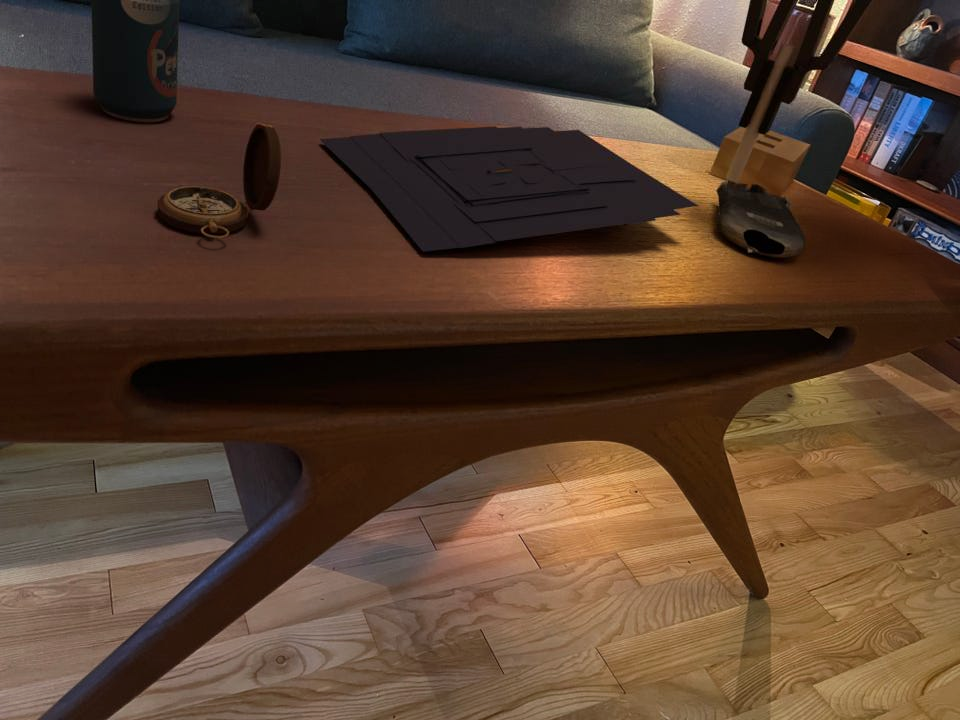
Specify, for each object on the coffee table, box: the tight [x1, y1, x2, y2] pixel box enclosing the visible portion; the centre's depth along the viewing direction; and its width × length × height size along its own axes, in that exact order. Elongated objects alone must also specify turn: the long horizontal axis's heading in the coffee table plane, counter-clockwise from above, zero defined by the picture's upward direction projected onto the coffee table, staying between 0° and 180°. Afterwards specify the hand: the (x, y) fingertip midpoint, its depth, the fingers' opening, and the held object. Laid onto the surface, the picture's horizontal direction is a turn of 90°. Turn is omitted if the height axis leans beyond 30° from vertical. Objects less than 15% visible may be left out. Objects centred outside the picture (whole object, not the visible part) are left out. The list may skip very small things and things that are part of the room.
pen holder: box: [709, 126, 811, 197], centre depth 106 cm, size 9×15×5 cm, turn 151°
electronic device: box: [715, 180, 806, 259], centre depth 84 cm, size 9×6×15 cm
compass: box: [155, 122, 282, 239], centre depth 55 cm, size 8×8×7 cm
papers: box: [318, 126, 699, 253], centre depth 75 cm, size 24×30×4 cm
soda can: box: [90, 0, 180, 123], centre depth 69 cm, size 7×7×12 cm
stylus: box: [726, 42, 797, 188], centre depth 80 cm, size 1×1×15 cm
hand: (753, 128), depth 81 cm, fingers closed on stylus
